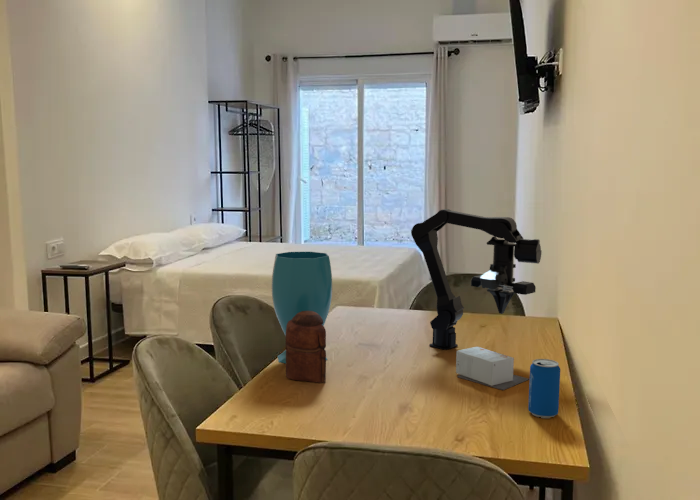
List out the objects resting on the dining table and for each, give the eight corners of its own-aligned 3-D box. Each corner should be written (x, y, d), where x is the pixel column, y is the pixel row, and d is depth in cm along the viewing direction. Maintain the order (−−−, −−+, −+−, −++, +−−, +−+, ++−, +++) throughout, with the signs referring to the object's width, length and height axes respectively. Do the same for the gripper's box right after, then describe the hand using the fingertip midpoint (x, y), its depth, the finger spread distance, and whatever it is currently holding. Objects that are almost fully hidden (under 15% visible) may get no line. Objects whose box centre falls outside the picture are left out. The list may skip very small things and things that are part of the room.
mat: (457, 377, 173) (457, 375, 172) (483, 367, 181) (483, 366, 181) (503, 390, 163) (503, 389, 162) (528, 379, 171) (528, 378, 171)
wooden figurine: (332, 377, 172) (332, 310, 169) (323, 384, 166) (324, 315, 163) (290, 372, 175) (290, 306, 173) (280, 380, 169) (280, 311, 167)
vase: (336, 365, 182) (336, 258, 178) (273, 368, 179) (272, 259, 175) (327, 348, 199) (328, 250, 195) (270, 350, 196) (270, 251, 192)
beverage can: (524, 409, 150) (526, 358, 148) (551, 408, 150) (553, 358, 149) (534, 420, 144) (536, 367, 142) (562, 419, 144) (565, 366, 143)
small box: (455, 373, 175) (491, 386, 164) (455, 350, 174) (492, 361, 163) (477, 368, 179) (513, 381, 169) (477, 346, 179) (514, 357, 168)
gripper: (460, 259, 191) (458, 312, 193) (516, 267, 178) (513, 323, 179) (482, 256, 199) (480, 306, 200) (537, 263, 185) (535, 317, 187)
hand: (501, 313), depth 192 cm, fingers closed
